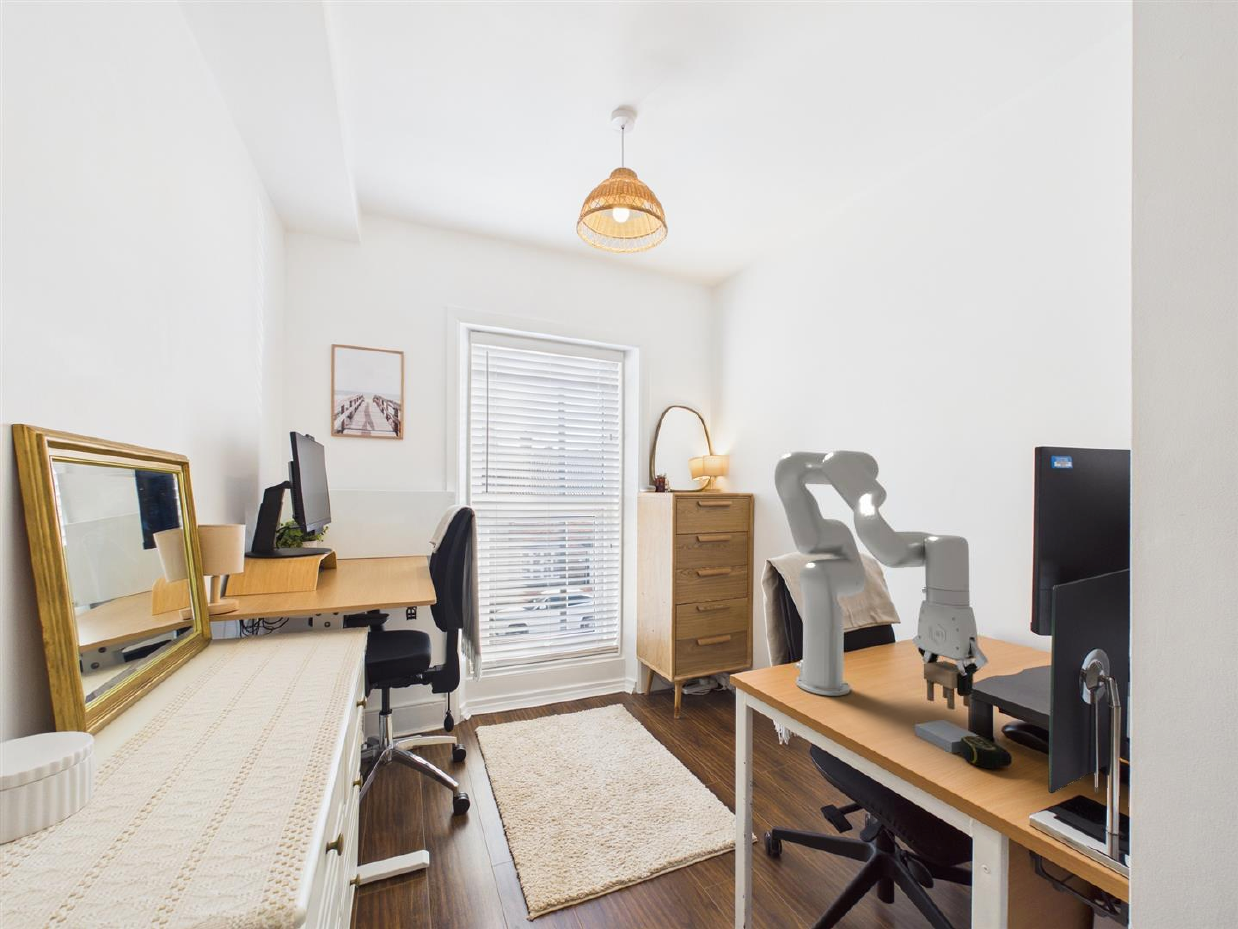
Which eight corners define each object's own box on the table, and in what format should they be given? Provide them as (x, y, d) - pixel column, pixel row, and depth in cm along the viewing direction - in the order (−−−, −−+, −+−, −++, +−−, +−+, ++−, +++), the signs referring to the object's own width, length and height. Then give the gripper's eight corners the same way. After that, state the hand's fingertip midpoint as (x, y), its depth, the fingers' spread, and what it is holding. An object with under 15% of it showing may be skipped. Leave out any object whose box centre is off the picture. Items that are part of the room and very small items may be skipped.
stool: (924, 699, 108) (923, 663, 108) (945, 695, 110) (945, 661, 110) (951, 710, 102) (951, 673, 103) (973, 706, 104) (973, 670, 105)
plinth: (914, 734, 109) (914, 724, 109) (943, 729, 111) (943, 719, 111) (951, 753, 101) (951, 742, 101) (981, 747, 104) (981, 736, 104)
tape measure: (1014, 772, 95) (1014, 750, 95) (979, 774, 94) (979, 752, 94) (983, 753, 102) (983, 733, 102) (950, 754, 101) (950, 734, 101)
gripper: (897, 590, 114) (897, 676, 113) (975, 607, 98) (977, 707, 97) (923, 589, 117) (924, 673, 116) (1003, 604, 101) (1006, 703, 100)
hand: (948, 688), depth 106 cm, fingers closed on stool, 6 cm apart
